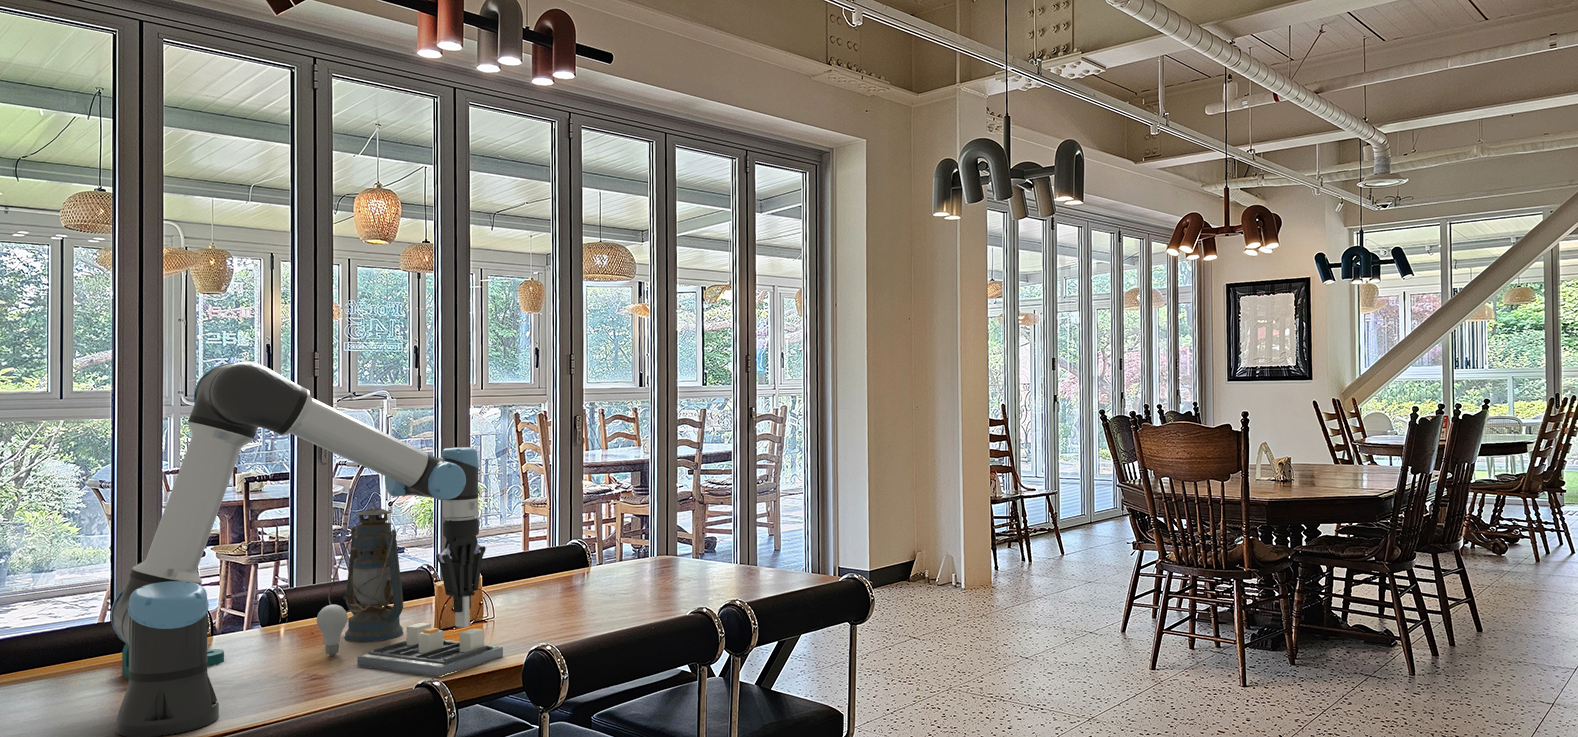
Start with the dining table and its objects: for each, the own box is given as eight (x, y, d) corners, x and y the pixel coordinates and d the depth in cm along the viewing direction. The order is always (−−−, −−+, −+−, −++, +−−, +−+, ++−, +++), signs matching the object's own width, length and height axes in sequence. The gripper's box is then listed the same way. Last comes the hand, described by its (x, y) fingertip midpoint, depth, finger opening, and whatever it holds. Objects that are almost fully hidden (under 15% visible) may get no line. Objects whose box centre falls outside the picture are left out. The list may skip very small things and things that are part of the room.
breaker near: (470, 652, 217) (470, 633, 217) (459, 651, 218) (459, 632, 218) (484, 648, 221) (483, 629, 221) (473, 647, 222) (473, 628, 222)
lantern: (424, 634, 244) (423, 506, 245) (372, 647, 232) (372, 512, 233) (370, 626, 254) (369, 503, 255) (317, 638, 242) (317, 509, 243)
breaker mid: (429, 653, 217) (429, 631, 217) (418, 652, 218) (418, 630, 218) (443, 649, 220) (443, 627, 220) (432, 648, 222) (432, 626, 222)
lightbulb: (336, 660, 221) (335, 608, 221) (310, 659, 222) (310, 607, 223) (353, 653, 227) (353, 602, 227) (328, 652, 228) (328, 601, 229)
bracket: (134, 681, 207) (134, 642, 207) (122, 676, 211) (122, 637, 212) (229, 662, 221) (229, 625, 221) (216, 658, 225) (216, 621, 225)
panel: (440, 677, 206) (440, 663, 206) (357, 665, 216) (357, 652, 216) (502, 656, 222) (502, 643, 222) (422, 646, 232) (422, 633, 232)
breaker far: (417, 646, 224) (416, 627, 224) (406, 645, 225) (406, 626, 225) (430, 642, 227) (430, 623, 227) (420, 640, 228) (420, 622, 229)
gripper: (452, 522, 220) (454, 634, 220) (494, 515, 232) (496, 621, 232) (425, 521, 224) (427, 631, 223) (469, 514, 235) (470, 618, 235)
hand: (462, 626), depth 227 cm, fingers closed
